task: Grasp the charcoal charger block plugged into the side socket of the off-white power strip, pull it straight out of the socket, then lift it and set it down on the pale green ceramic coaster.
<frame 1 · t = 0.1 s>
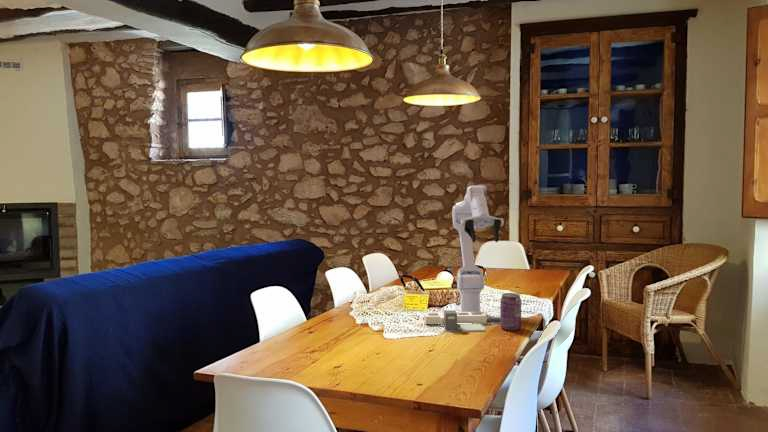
hand: (485, 240, 203), 32 cm above the table, tool tilted 50°, fingers open, 7 cm apart
coaster: (471, 328, 213), on the table
charger: (450, 328, 213), on the table
power strip: (454, 322, 221), on the table
beverage can: (510, 329, 212), on the table
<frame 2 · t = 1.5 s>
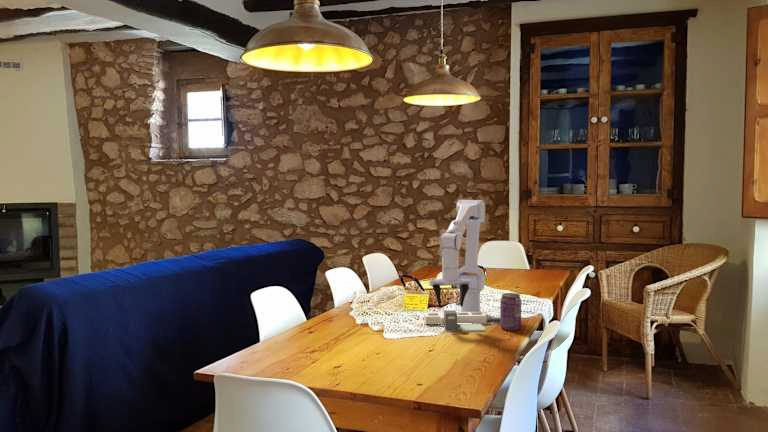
hand: (450, 305, 212), 8 cm above the table, tool pointing down, fingers open, 7 cm apart
nothing on the table moved.
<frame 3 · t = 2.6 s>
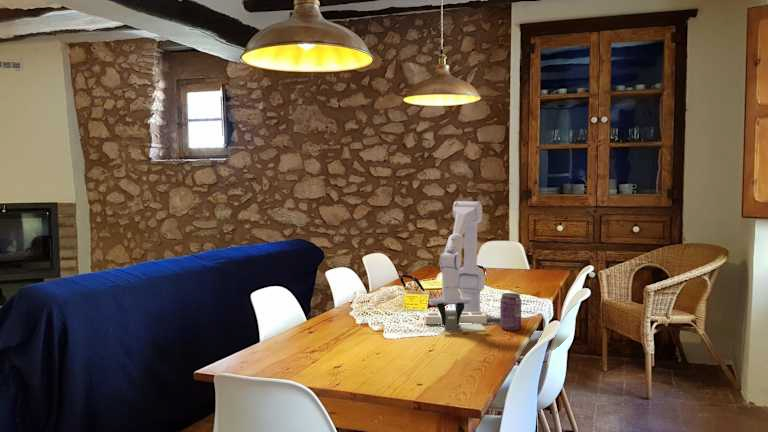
hand: (450, 324, 213), 1 cm above the table, tool pointing down, fingers closed on charger, 4 cm apart
charger: (450, 328, 213), on the table, touching gripper
everything else where it was.
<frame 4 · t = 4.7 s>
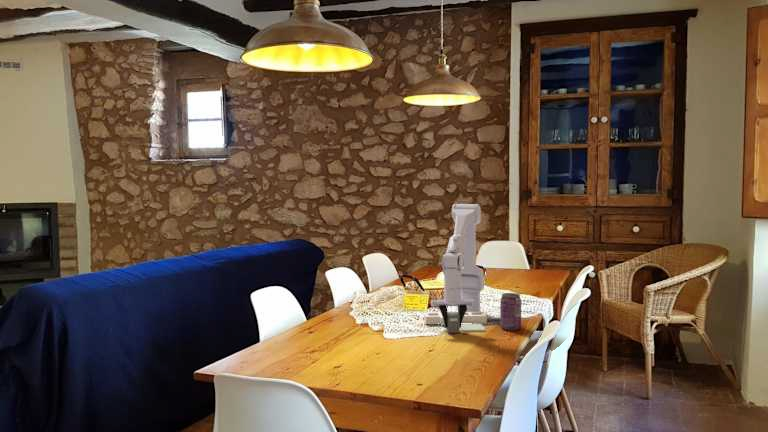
hand: (452, 326, 208), 2 cm above the table, tool pointing down, fingers closed on charger, 4 cm apart
charger: (452, 331, 208), on the table, touching gripper
everything else where it was.
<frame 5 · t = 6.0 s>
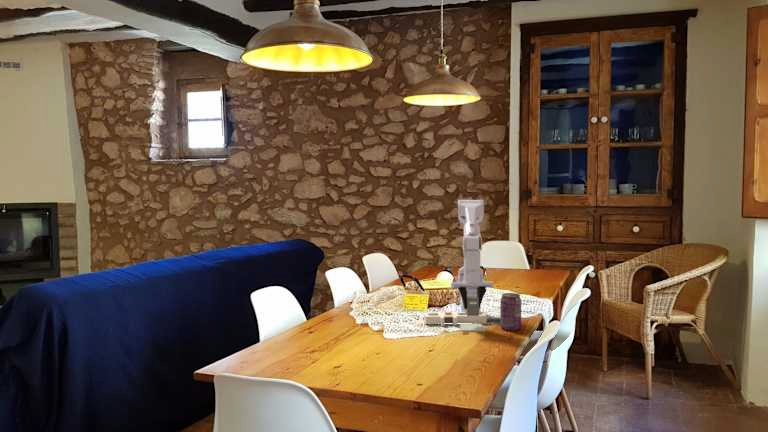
hand: (471, 308, 212), 7 cm above the table, tool pointing down, fingers closed on charger, 4 cm apart
charger: (471, 314, 212), point 5 cm above the table, touching gripper
everything else where it was.
when the fingers open (3 cm above the table, at t = 7.1 s): charger stays where it is, resting on coaster.
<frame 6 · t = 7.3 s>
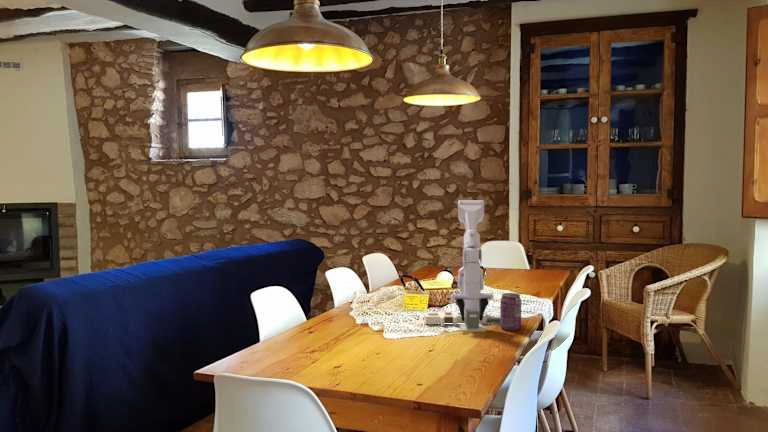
hand: (471, 320, 212), 3 cm above the table, tool pointing down, fingers open, 6 cm apart
charger: (471, 326, 212), point 1 cm above the table, touching coaster
everything else where it was.
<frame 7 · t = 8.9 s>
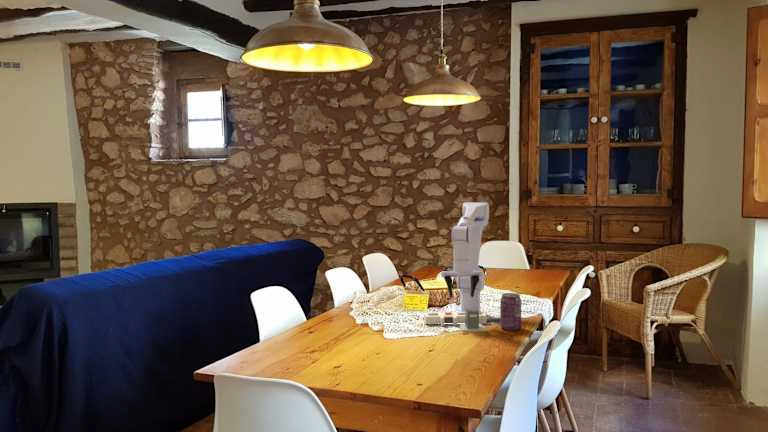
hand: (461, 296, 219), 10 cm above the table, tool pointing down, fingers open, 7 cm apart
nothing on the table moved.
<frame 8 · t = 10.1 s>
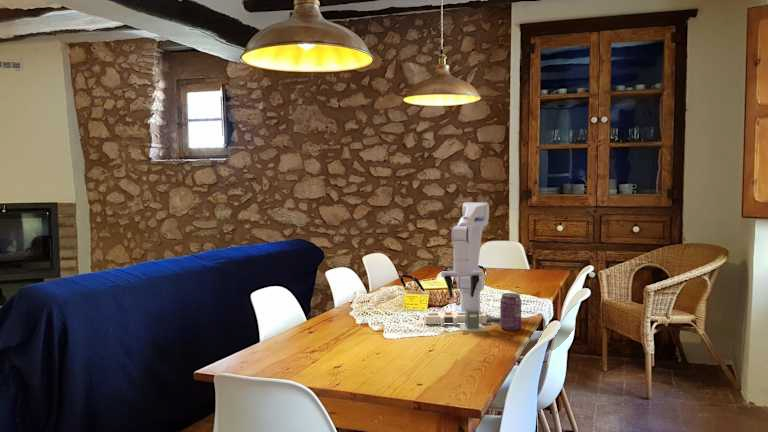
hand: (461, 296, 219), 10 cm above the table, tool pointing down, fingers open, 7 cm apart
nothing on the table moved.
at the end: charger inside the target area on the coaster (0.1 cm from its centre), point 0.6 cm above the coaster's base; charger tilted 0°; charger touching coaster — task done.
